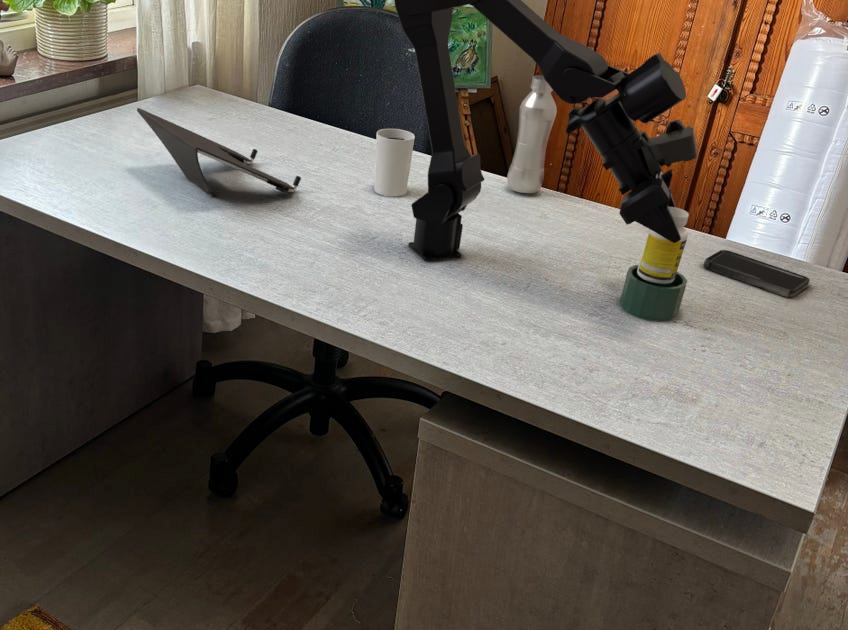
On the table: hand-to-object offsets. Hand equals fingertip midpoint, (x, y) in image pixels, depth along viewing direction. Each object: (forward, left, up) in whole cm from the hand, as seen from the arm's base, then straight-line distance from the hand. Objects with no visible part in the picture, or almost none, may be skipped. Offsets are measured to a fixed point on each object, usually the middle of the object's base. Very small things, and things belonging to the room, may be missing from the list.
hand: (678, 234), depth 136 cm
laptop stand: (-46, +63, -12) cm, 79 cm away
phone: (+24, +6, -12) cm, 27 cm away
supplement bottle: (-1, +1, -7) cm, 7 cm away
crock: (-1, +1, -11) cm, 12 cm away
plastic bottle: (+7, +49, -12) cm, 51 cm away
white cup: (-18, +54, -12) cm, 58 cm away
